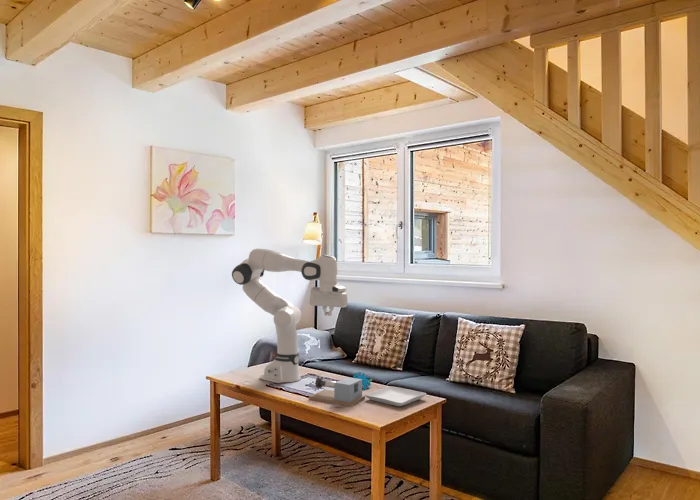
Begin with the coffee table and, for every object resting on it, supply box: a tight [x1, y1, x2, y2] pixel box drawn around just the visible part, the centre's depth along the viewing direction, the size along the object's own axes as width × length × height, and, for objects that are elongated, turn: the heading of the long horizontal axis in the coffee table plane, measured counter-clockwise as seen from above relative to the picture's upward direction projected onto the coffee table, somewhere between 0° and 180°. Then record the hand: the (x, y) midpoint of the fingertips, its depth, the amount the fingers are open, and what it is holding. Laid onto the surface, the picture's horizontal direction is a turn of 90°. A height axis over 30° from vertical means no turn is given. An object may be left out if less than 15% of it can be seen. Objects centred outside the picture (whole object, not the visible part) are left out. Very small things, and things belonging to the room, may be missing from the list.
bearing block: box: [308, 376, 366, 407], centre depth 246 cm, size 22×14×9 cm, turn 61°
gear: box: [352, 371, 373, 391], centre depth 268 cm, size 11×6×10 cm
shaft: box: [314, 376, 336, 389], centre depth 248 cm, size 14×5×5 cm, turn 61°
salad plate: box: [364, 385, 427, 407], centre depth 246 cm, size 21×21×3 cm
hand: (328, 315), depth 262 cm, fingers closed
